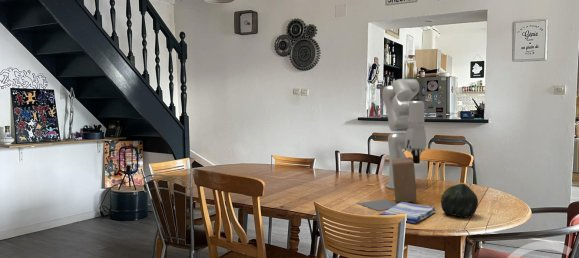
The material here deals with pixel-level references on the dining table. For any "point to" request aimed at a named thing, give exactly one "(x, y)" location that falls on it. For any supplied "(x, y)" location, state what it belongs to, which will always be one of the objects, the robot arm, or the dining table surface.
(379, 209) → the mat
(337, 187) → the dining table surface
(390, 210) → the dish towel
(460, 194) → the squash
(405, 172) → the wooden block
